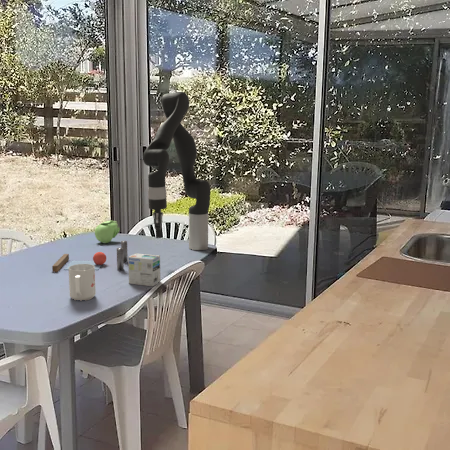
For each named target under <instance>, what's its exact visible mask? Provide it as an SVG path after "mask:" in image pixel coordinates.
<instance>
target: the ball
mask: <svg viewBox="0 0 450 450" xmlns="http://www.w3.org/2000/svg"><path fill="white" fill-rule="evenodd" d="M92 261H94V263H95V264H97V265H101V266H103V265H104V264H105V263H106V261H107V256H106V253H104V252H101V251H97V252H95V253H94V254H93V257H92Z"/></svg>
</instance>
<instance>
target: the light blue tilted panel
mask: <svg viewBox="0 0 450 450" xmlns="http://www.w3.org/2000/svg"><path fill="white" fill-rule="evenodd" d="M77 264H91V265H94V266H95V271H99V270H100V269H101V267H102V265H97V264H95V263H94V261H93V260H71V261H70V262H69V264H68V265H66V267H65V268H64V269H63V270H64V271H69V267H70V266H72V265H77Z"/></svg>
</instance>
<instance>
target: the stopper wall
mask: <svg viewBox="0 0 450 450" xmlns="http://www.w3.org/2000/svg"><path fill="white" fill-rule="evenodd" d="M69 260H70V255H69V253H64V254H62V256H60V257H59V259H57V260H56V262H55V263H54V264H53V265H52V266H51V268H52V273H58V272H59V271H60V270H61V269H62V268H63V267H64V266H65V264H66V263H68V261H69Z"/></svg>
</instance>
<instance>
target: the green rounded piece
mask: <svg viewBox="0 0 450 450" xmlns="http://www.w3.org/2000/svg"><path fill="white" fill-rule="evenodd" d="M119 232H120V227H119V225H118V222H117V221H116V220H113V219H112V220H107V221H104V222H102V223H100V224H98V225H97V226H96V228H95V229H94V236H95V238H96V240H97V241H98V242H100V243H103V244H108V243H111V242H112V240H113V239H114V238H116V237H117V236H118V234H119Z"/></svg>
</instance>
